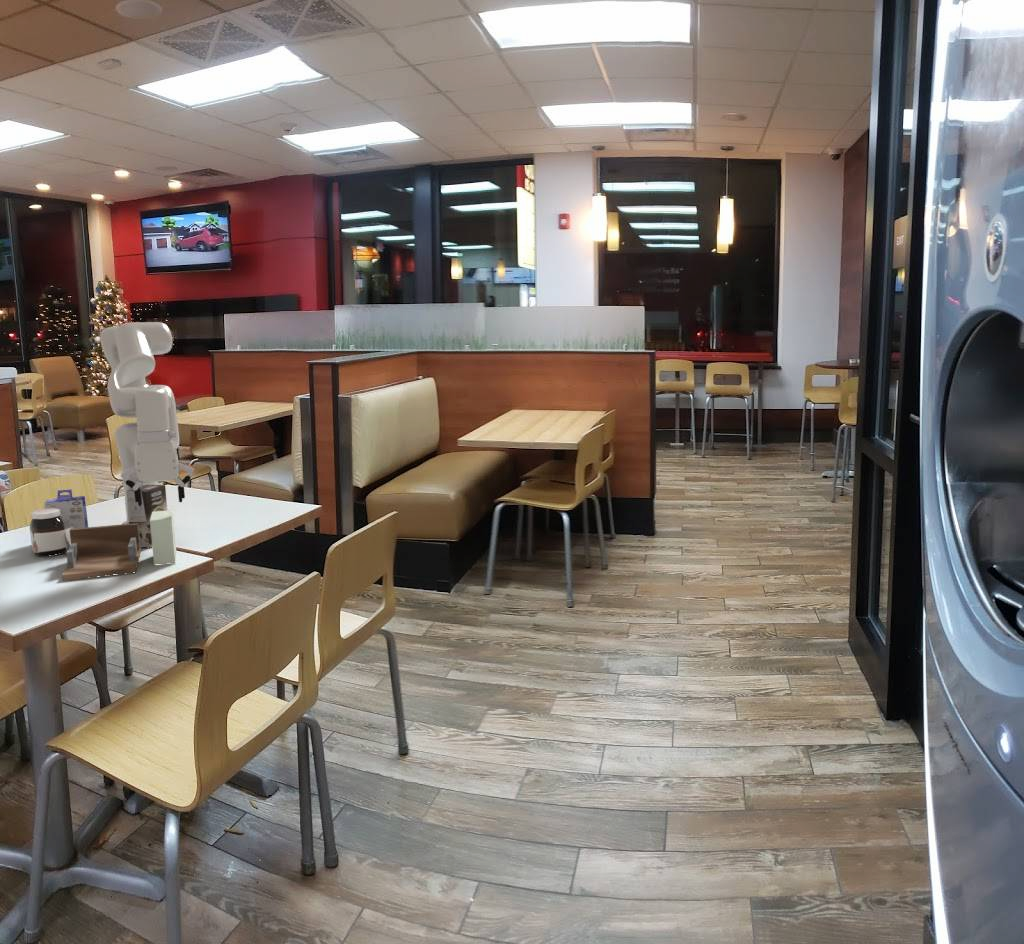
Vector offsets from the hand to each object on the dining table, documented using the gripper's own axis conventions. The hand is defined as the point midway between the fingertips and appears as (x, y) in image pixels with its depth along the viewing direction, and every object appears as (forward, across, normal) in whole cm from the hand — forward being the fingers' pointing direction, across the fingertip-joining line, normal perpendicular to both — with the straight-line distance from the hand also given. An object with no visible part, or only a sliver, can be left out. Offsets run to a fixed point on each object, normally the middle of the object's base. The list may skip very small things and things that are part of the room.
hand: (160, 503), depth 208 cm
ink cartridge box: (+15, +27, -31) cm, 43 cm away
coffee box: (+15, +5, -19) cm, 25 cm away
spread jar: (+15, +28, -19) cm, 37 cm away
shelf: (+15, +15, 0) cm, 21 cm away
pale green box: (+15, 0, -1) cm, 15 cm away
